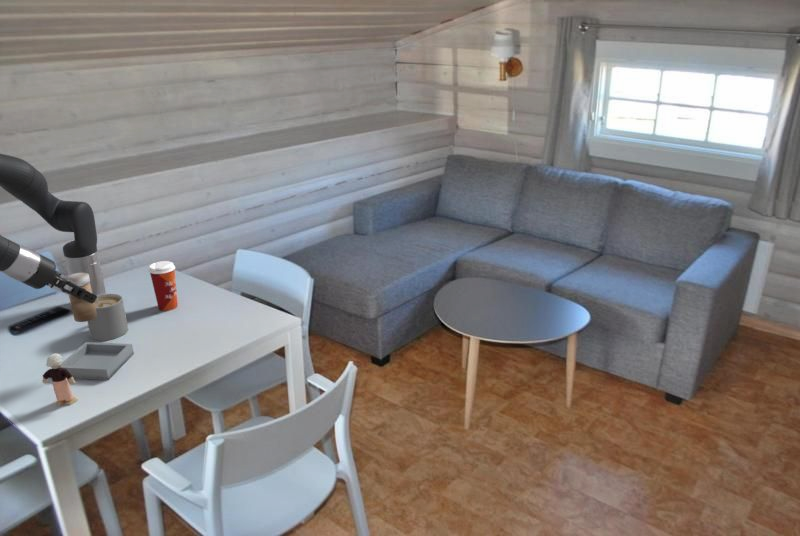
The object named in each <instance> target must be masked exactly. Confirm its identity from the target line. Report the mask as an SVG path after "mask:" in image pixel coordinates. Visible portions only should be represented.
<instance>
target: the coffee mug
mask: <svg viewBox="0 0 800 536" xmlns="http://www.w3.org/2000/svg"><path fill="white" fill-rule="evenodd" d="M94 303H95V308H96V312H97V317H96V318H94V319H93V320H90V321H87V325H88V330H89V335H90V338H91V339H92V340H95V341H105V342H106V341H111V340H116V339H118V338H121V337H122V336H124V335H126V334H127V333H128V331H129V326H128V320H127V315H126V311H125V306H124V305H125V304H124V299H123V297H122V295H120V294H118V293H106V294H101V295H97V299H96V300H95V302H94Z"/></svg>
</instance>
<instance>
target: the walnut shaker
mask: <svg viewBox="0 0 800 536" xmlns="http://www.w3.org/2000/svg"><path fill="white" fill-rule="evenodd" d="M66 278H68V279H70V280H72V281H74V282H76V283H77V286H79V287H81V288H84V289H86V291H88V292H90V293H92V289H91V284H90V277H89V274H87V273H75V274H71V275H67V276H66ZM68 282H69V281H68ZM78 291H79V290H78ZM77 293H78V292H77ZM77 293H76V295H77ZM68 298H69V302H70V307H71V311H72V316H73V320H74V321H75V322H78V323H84V322H85V323H86V322H88V321H90V320H93V319H94V318H96V317H97V312H96V308H95V303H89V302H87V301H85V300H83V299H78V298H76V297H74V296H72V295H68Z"/></svg>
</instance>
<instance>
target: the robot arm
mask: <svg viewBox="0 0 800 536" xmlns="http://www.w3.org/2000/svg"><path fill="white" fill-rule="evenodd" d="M0 187H1V188H2V189H3V190H4V191H6V192H7V193H8V194H10V195H11V196H13V197H14V198H15V199H18V200H19V201H21V202H22V203H23V204H24V205H25V206H27V207H29V209H31V210H32V211H34V212H36V213H37V214H38V215H39V216H40V217H41V218H42V219H43V220H44V221H45V222H46V223H47V224H48V225H49V226H51V227H52V228H53V229H55V230H56V231H59V232H63V233H73V235H74V237H73V238H74V240H71V241H69V242H66V243H65V244H64V245H63V247H62V252H63V256H64V261H65V266H66V270H67V276H69V275H71V274H75V273H87V274H89V277H90V284H91V289H92V293H90V292H88V291H86V289H84V288H81V287H79V286H77V283H76V282H74V281H72V280H70V279H68V278H66V277H67V276H66V275H64V274H62V273H61V272H59V271H57V270H56V269H57V265H56V263H55V261H54V260H53V259H50V258H48V257H46V256H44V255H42V254H41V253H39V252H36V251H35V250H32V249H31V248H29V247H26V246H24V245H21V244H19V243H16V242H15V241H12V240H10V239H9V238H7V237H5V236H3V235H1V234H0V273H3V274H5V276H8V277H9V278H11V279H12V280H13V279H14V281H15V280H16V281H17V282H20V283H22V284H24V285H26V286H29V287H31V288H33V289H36V290H40V289H43V288H44V287H46V286H48V287H49V288H51V289H53V290H54V291H59V292H61V293H64V294H65V295H67V296H69V295H72V296H74V297H76V298H78V299H83V300H85V301H87V302H89V303H94V302H95V300H96V299H97V295H101V294H107V292H106V291H107V290H106V286H105V282H104V276H103V272H102V266H101V261H100V257H99V252H98V246H97V245H98V234H97V227H96V226H97V225H96V220H95V215H94V211H93V208H92V207H91V205H90V204H89V203H87V202H85V201H74V200H73V201H70V200H63V199H60V198H58V197H56V196H55V195H54V194H52V193H51V192H50V191H49V185H48V181H47V179H46V177H45V176H44V174H42V173H41V171H39V170H38V169H37V168H36V167H34V166H33V165H32V164H31V163H29V161H26V160H24V159H21V158H19V157H16V156H12V155H9V154H5V153H4V154H3V153H0ZM68 281H69V282H68ZM78 290H79V291H78ZM77 292H78V293H77ZM76 293H77V295H76Z"/></svg>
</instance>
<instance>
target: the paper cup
mask: <svg viewBox="0 0 800 536" xmlns="http://www.w3.org/2000/svg"><path fill="white" fill-rule="evenodd" d="M175 269H176V266H175V265H174V262H172V261H169V260H163V261H162V260H160V261H157V262H156V261H155V262H154V263H151V264H150V265H149V269H148V272H149V274H150V278H151V282H152V287H153V290H154V295H155V299H156V302H157V307H158V310H160V311H164V312H167V311H173V310H175V309H176V308H177V307H178V293H177V283H176V272H175V271H176V270H175Z"/></svg>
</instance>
